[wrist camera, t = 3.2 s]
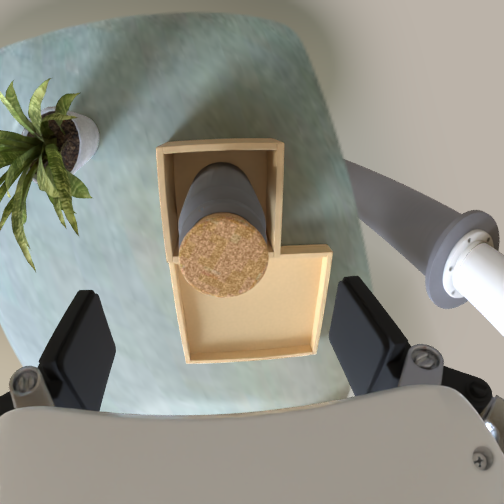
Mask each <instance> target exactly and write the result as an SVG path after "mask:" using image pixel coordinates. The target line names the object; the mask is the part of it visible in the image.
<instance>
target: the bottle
mask: <svg viewBox="0 0 504 504" xmlns="http://www.w3.org/2000/svg"><path fill="white" fill-rule="evenodd" d="M178 230H179V266H180V269H181V272H182V274H183V276H184V278H185V279H186V281H187V282H188V283H189V284H190V285H191V286H192V287H193V288H194V289H196V290H198V291H199V292H201V293H203V294H206V295H208V296H212V297H218V298H229V297H234V296H238V295H241V294H244V293H246V292H247V291H249V290H251V289H252V288H253V287H255V286H256V285H257V284H258V283H259V282H260V280H261V279H262V277H263V276H264V274H265V272H266V269H267V266H268V261H269V254H268V248H267V237H266V220H265V216H264V212H263V209H262V207H261V205H260V202H259V200H258V198H257V196H256V194H255V192H254V189H253V187H252V185H251V183H250V181H249V179H248V177H247V176H246V174H245V173H244V172H243V171H242V170H241V169H240V168H239V167H237V166H235V165H233V164H231V163H227V162H216V163H212V164H209V165H207V166H205V167H204V168H203V169H201V170H200V171H199V172H198V173H197V175H196V176H195V178H194V180H193V182H192V184H191V187H190V189H189V192H188V194H187V197H186V199H185V202H184V205H183V207H182V210H181V213H180V218H179V224H178Z"/></svg>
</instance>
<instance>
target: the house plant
mask: <svg viewBox="0 0 504 504" xmlns="http://www.w3.org/2000/svg"><path fill="white" fill-rule="evenodd" d="M52 78H53V77H52ZM50 79H51V78H50ZM50 79H48V80H46V81H45V82H44V83H42V84H41V85H40V86H39V87H38V88H37V89H36V90H35V92H34V94H33V96H32V97H31V99H30V104H29V111H28V115H29V118H30V120H28V119H27V117H26V116H25V115H24V114H23V112H22V109H21V107H20V105H19V102H18V99H17V96H16V93H15V91H14V88H13V81H12V82H11V84H10V86H9V87H8V89H7V90H6V97H4V96H3V95H2V93H1V92H0V99H1V101H2V102H3V104H4V105H5V106H6V107H7V109H8V110H9V111H10V113H11V114H12V116H13V117H14V118H15V119H16V120H17V121H18V122H19V123H20V124H21V125H22V126H23V127H24V130H23V132H22V134H21V135H20V134H17V133H14V132H9V131H2V130H0V168H2V167H5V166H8V165H10V167H9V169H8V171H7V172H6V173H5V174H4V175H3V176H2V177H1V178H0V185H1V184H2V183H3V182H4V181H5V182H4V183H3V184H2V186H1V187H0V202H1V200H2V198H3V197H4V195H5V193H6V192H7V195H8V197H9V198H10V194H9V192H8V189H9V188H10V186H11V185H12V184H13V183H14V181H15V180H16V179H17V178H18V176H19V175H20V174H21V173H22V174H21V176H20V179H19V181H18V184H17V188H16V192H15V195H14V196H13V197H12V199H11V200H10V201H9V203H8V204H7V206H6V207H5V209H4V212H3V215H2V219H1V222H0V230H1V228H2V226H3V225H4V223H5V221H6V219H7V218H8V216H9V215H10V213H11V212H12V217H11V219H12V229H13V233H14V235H15V238H16V240H17V242H18V244H19V246H20V248H21V250H22V252H23V254H24V256H25V258H26V259H27V261H28V263H29V264H30V265H31V266H32V267H33V269H34V270H35V267H34V264H33V262H32V259H31V256H30V253H29V251H28V248H27V246H28V247H29V245H28V242H27V239H26V236H25V233H24V228H23V224H24V223H25V222H26V218H27V214H26V197H27V194H28V191H29V187H30V185H31V182H32V181H34V182H35V183H36V184H38V186H39V189H40V190H42V191H45V192H46V193H47V195H48V197H49V199H50V201H51V202H52V204H53V205H54V209H55V211H56V213H57V215H58V217H59V220H60V221H61V223H62V224H63V225H64V226H65V228H66V225H65V222H64V218H63V215H62V211H61V210H63V211H64V213H65V216H66V218H67V220H68V221H69V223H70V224H71V226H72V228H73V229H74V231H75V232H76V234H77V235H78V229H77V222H76V219H75V216H74V213H75V212H74V211H73V207H72V196H73V197H76V198H92V197H91V196H90V194H89V191H88V189H87V187H86V186H85V185H84V183H83V182H82V181H81V180H80V179H78V178H77V177H76V176H75V175H73V174H74V173H75V172H76V171H78V170H79V169H80V168H81V167H82V166H83V165H84V164H85V163H86V162H87V161H88V160H89V159H90V158H91V157H92V156H93V155H94V154H95V152H96V150H97V148H98V145H99V130H98V128H97V126H96V124H95V123H94V121H93V120H92V119H90V118H89V117H87V116H84V115H81V114H78V113H75V112H72V111H69V110H68V109H69V107H70V105H71V102H72V101H73V99H74V98H75V97H76V95H78V94H80V93H76V94H65V95H64V96H62V97H61V98H60V99H59V101H58V103H57V105H56V107H47V108H44V109H42V110H41V102H42V100H43V97H44V95H45V92H46V88H47V84H48V82H49V80H50ZM23 170H24V171H23ZM26 174H27V175H26ZM76 214H77V213H76ZM78 236H79V235H78ZM79 237H80V236H79ZM29 249H30V247H29ZM35 272H36V270H35Z"/></svg>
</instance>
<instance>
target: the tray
mask: <svg viewBox="0 0 504 504" xmlns="http://www.w3.org/2000/svg"><path fill="white" fill-rule="evenodd" d="M332 255H333V251H332V250H331V249H330V248H329V246H328V245H327V244H316V245H291V246H281V251H280V258H269V261H268V266H267V269H266V272H265V274H264V276H263V277H262V279H261V280H260V282H259V283H258V284H257V285H256V286H255V287H253V288H252V289H251V290H249V291H247V292H246V293H244V294H241V295H238V296H234V297H229V298H218V297H212V296H208V295H206V294H203V293H201V292H199V291H198V290H196V289H194V288H193V287H192V286H191V285H190V284H189V283H188V282H187V281H186V279H185V278H184V276H183V274H182V272H181V269H180V266H179V262H169V266H170V273H171V280H172V287H173V293H174V299H175V306H176V312H177V317H178V323H179V329H180V334H181V339H182V344H183V350H184V355H185V359H186V364H195V363H223V362H241V361H255V360H267V359H278V358H288V357H297V356H306V355H314V354H316V353H317V348H318V343H319V337H320V332H321V326H322V321H323V315H324V309H325V303H326V297H327V290H328V284H329V277H330V270H331V263H332Z"/></svg>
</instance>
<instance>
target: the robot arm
mask: <svg viewBox="0 0 504 504" xmlns="http://www.w3.org/2000/svg"><path fill="white" fill-rule="evenodd" d="M443 286H444V289H445V291H446V292H447V293H448V294H449V295H450V296H451V297H454V298H462V297H465V298H466V299H467V300H468V301H469V302H471V303H472V304H473V305H474V306H475V307H476V308H477V309H478V310H479V311H480V312H481V313H482V314H483V315H484V316H485V317H486V318H487V319H488V320H489V321H490V322H491V323H492V324H493V326H494V327H495V328H496V329H497V330H498V331H499V332H500V333H501V334H502V335H503V336H504V255H503V254H502V253H500V252H499V251H497V250H496V249H494V245H493V240H492V238H491V236H490V235H489V234H488V233H487V232H485V231H484V230H481V229H475V230H472V231H470V232H468V233H467V234H465V235H464V236H463V237H462V238H461V239H460V240H459V241H458V242H457V243H456V245H455V246H454V247H453V249H452V251H451V252H450V254H449V256H448V259H447V261H446V264H445V267H444V271H443ZM329 340H330V343H331V345H332V347H333V349H334V351H335V353H336V356H337V358H338V360H339V362H340V364H341V366H342V368H343V371H344V373H345V375H346V377H347V379H348V381H349V384H350V386H351V388H352V390H353V392H354V395H355V397H350V398H345V399H339V400H334V401H329V402H324V403H318V404H312V405H306V406H299V407H292V408H285V409H277V410H268V411H258V412H247V413H234V414H217V415H141V414H124V413H112V412H100V407H101V403H102V399H103V395H104V391H105V388H106V384H107V380H108V377H109V373H110V370H111V367H112V363H113V360H114V357H115V353H116V347H115V343H114V341H113V338H112V335H111V332H110V329H109V326H108V323H107V320H106V317H105V314H104V311H103V308H102V305H101V301H100V298H99V295H98V294H95V292H94V291H93V290H79V291H78V292H77V294H76V296H75V297H74V299H73V301H72V302H71V304H70V305H69V307H68V309H67V310H66V312H65V314H64V316H63V317H62V319H61V321H60V322H59V324H58V326H57V328H56V330H55V331H54V333H53V335H52V337H51V339H50V340H49V342H48V344H47V346H46V348H45V350H44V352H43V354H42V356H41V358H40V360H39V363H40V364H39V366H38V368H36V367H33V366H25V367H22V368H20V369H19V370H17V371H16V372H15V373H14V374H13V375H12V377H11V378H10V382H9V389H10V391H9V392H7V393H6V394H4V395H2V396H0V504H504V399H502V398H501V397H499V396H498V395H496V396H495V398H494V397H492V391H491V388H490V387H489V385H488V384H487V383H486V382H485V381H484V380H482V379H480V378H478V377H475V376H472V375H469V374H466V373H463V372H460V371H457V370H454V369H451V368H448V367H446V366H443V365H444V360H443V357H442V355H441V354H440V352H439V351H438V350H437V349H435V348H434V347H431V346H429V345H424V344H417V345H414V346H412V347H411V346H410V344H409V343H408V340H407V338H406V337H405V336H404V335H403V333H402V332H401V330H400V329H399V328H398V326H397V325H396V324H395V322H394V321H393V320H392V319H391V317H390V316H389V315H388V313H387V312H386V310H385V309H384V308H383V306H382V305H381V304H380V303H379V301H378V300H377V299H376V297H375V296H374V295H373V294H372V292H371V291H370V290H369V289H368V287H367V286H366V285H365V284H364V282H363V281H362V280H361V279H360V277H359V276H350V277H344V278H343V280H342V281H340V282H339V284H338V289H337V295H336V300H335V306H334V311H333V316H332V321H331V326H330V331H329Z"/></svg>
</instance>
